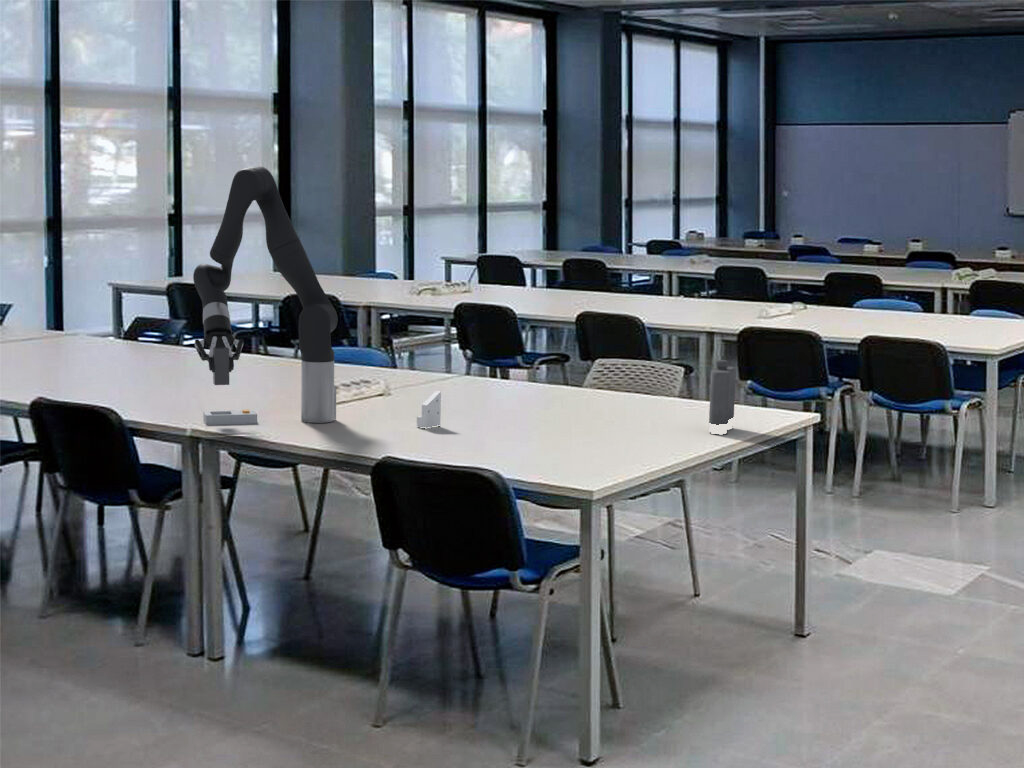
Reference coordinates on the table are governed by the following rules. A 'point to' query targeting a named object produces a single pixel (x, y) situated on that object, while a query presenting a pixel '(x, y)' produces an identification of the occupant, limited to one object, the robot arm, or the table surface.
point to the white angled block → (430, 411)
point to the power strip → (229, 417)
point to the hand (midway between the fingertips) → (222, 370)
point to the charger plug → (221, 366)
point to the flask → (722, 393)
